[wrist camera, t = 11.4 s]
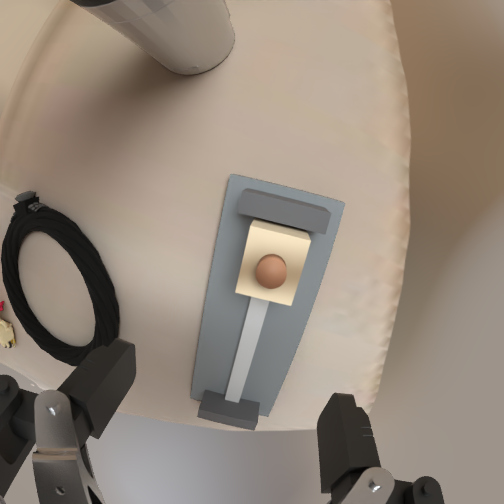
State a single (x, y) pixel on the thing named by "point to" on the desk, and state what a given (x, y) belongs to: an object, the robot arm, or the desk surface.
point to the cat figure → (6, 332)
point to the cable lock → (86, 259)
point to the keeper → (273, 261)
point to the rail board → (256, 303)
